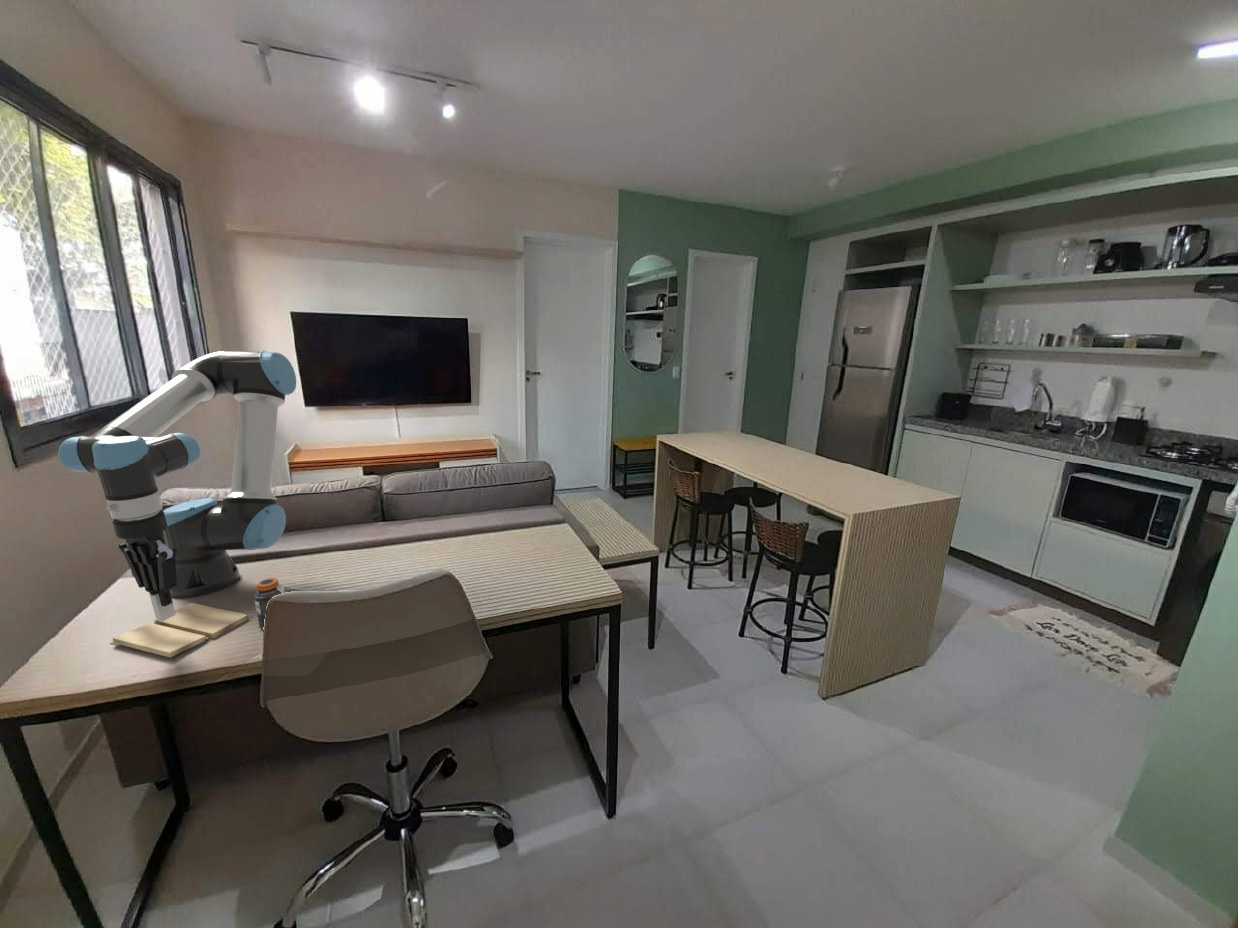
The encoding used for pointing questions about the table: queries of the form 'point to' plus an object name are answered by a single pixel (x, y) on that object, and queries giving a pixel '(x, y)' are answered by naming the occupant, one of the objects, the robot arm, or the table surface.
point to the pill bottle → (265, 596)
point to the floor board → (203, 620)
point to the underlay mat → (181, 652)
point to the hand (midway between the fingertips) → (166, 617)
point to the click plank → (160, 639)
